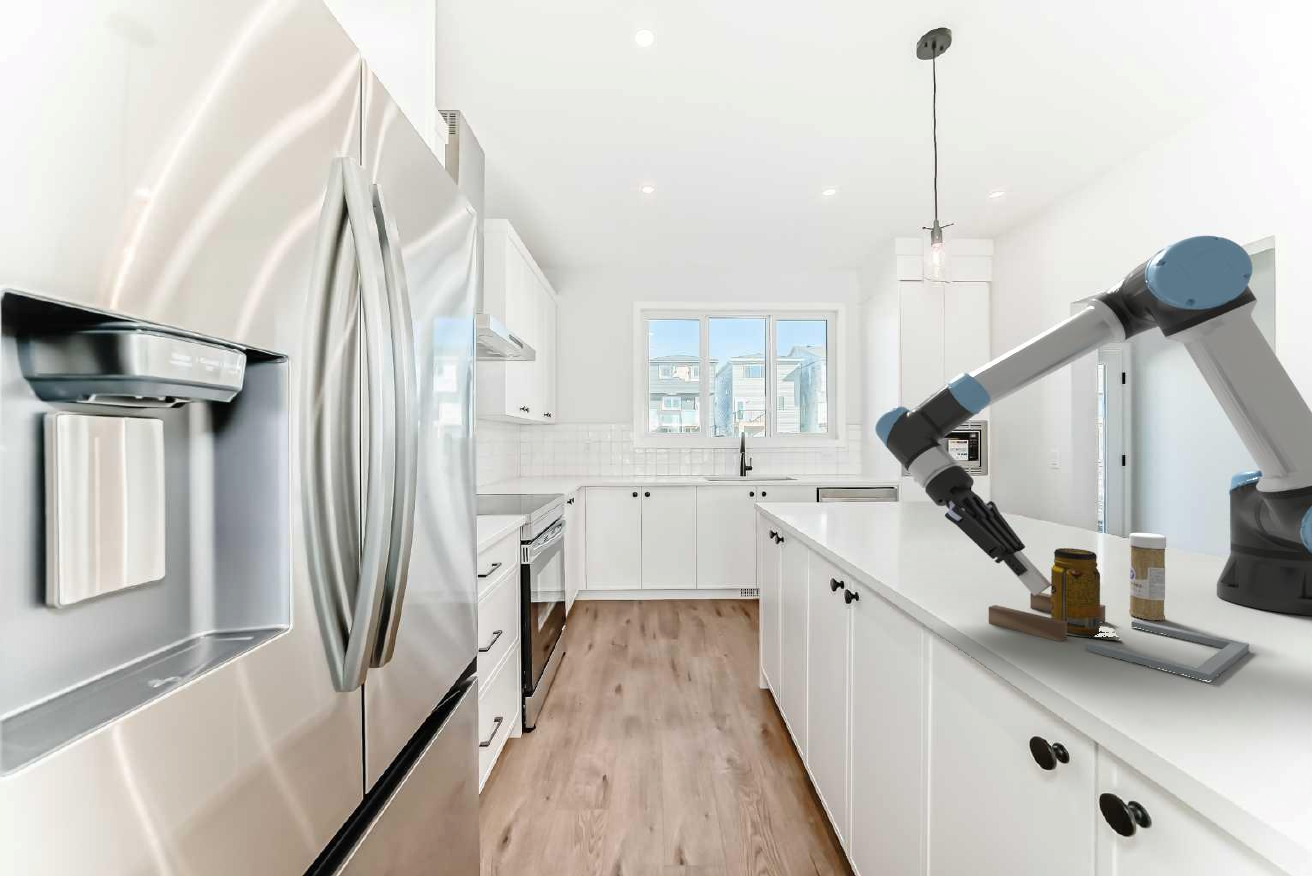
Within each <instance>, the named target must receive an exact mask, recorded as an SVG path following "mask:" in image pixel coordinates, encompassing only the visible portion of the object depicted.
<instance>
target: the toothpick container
mask: <svg viewBox="0 0 1312 876" xmlns="http://www.w3.org/2000/svg"><path fill="white" fill-rule="evenodd" d="M1128 539H1129V541H1128V543H1129V545H1130V546H1129V547H1130V568H1129V569H1130V570H1129V573H1130V575H1129V595H1130V596H1129V597H1130V599H1129V600H1130V601H1129V611H1128V613H1129V615H1130V616H1132V615H1133V616H1132V617H1134V616H1135V617H1134V618H1137V617H1139V618H1138V619H1140V618H1142V619H1141V620H1144V619H1147V620H1146V621H1155V620H1157V621H1158V620H1160V621H1164V620H1165V619H1166V616H1165V599H1166V562H1165V561H1166V560H1165V558H1166V555H1165V554H1166V548H1167V536H1164V535H1162V534H1158V533H1150V532H1149V533H1147V532H1132V533H1130V534H1129V537H1128Z"/></svg>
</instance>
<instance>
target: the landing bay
mask: <svg viewBox="0 0 1312 876" xmlns="http://www.w3.org/2000/svg"><path fill="white" fill-rule="evenodd" d="M1131 627H1137V628H1141V629H1144V630H1148V631H1152V632H1156V633H1163V634H1166V635H1170V636H1173V637H1172V638H1174V637H1176V638H1175V639H1178V638H1179V639H1180V640H1183V639H1187V640H1191V641H1190V642H1192V641H1195V642H1194V643H1196V642H1199V643H1198V644H1201V643H1202V644H1201V645H1206V646H1210V645H1212V646H1211V647H1215V648H1220V650H1219V651H1217V652H1216V653H1215V654H1213V655H1211V656H1210V657H1209V658H1207V660H1205V661H1204V662H1203V663H1201V664H1199V665H1198V666H1196V667H1195V666H1191V665H1188V664H1183V663H1180V662H1176V661H1170V660H1168V659H1165V658H1164V659H1163V658H1160V657H1156V656H1152V655H1148V654H1143V653H1140V652H1135V651H1132V650H1129V649H1124V648H1119V647H1117V646H1116V647H1115V646H1111V645H1107V644H1103V643H1099V642H1095V641H1091V640H1090V641H1089V642H1087V643H1086V652H1090V653H1094V654H1099V655H1102V656H1105V657H1109V656H1111V657H1110V658H1112V657H1115V658H1114V659H1116V658H1119V659H1118V660H1120V659H1123V660H1122V661H1124V660H1126V661H1125V662H1128V661H1130V662H1129V663H1132V662H1136V663H1139V664H1143V665H1147V666H1151V667H1154V668H1160V669H1164V670H1167V671H1171V672H1175V673H1177V674H1184V675H1187V676H1190V677H1194V678H1197V679H1201V680H1207V681H1210V680H1213V679H1214V678H1215V677H1216V676H1217V675H1219V674H1220V675H1221V674H1222V672H1223V671H1224V670H1225V671H1227V669H1229V668H1230V667H1231V666H1233V665H1234V664H1235V663H1236V662H1238V661H1239V660H1240V659H1242V657H1243V656H1245V655H1246V654H1248V653H1249V652H1250V644H1249V643H1246V642H1243V641H1237V640H1233V639H1227V638H1223V637H1218V636H1213V635H1209V634H1204V633H1200V632H1194V631H1190V630H1186V629H1180V628H1176V627H1170V626H1168V625H1161V624H1157V623H1152V622H1146V621H1145V620H1144V621H1143V620H1139V619H1134V620H1131ZM1131 627H1130V628H1131ZM1152 632H1151V633H1152ZM1156 633H1155V634H1156ZM1170 636H1169V637H1170ZM1187 640H1186V641H1187ZM1139 664H1138V665H1139ZM1143 665H1142V666H1143ZM1147 666H1146V667H1147ZM1151 667H1150V668H1151ZM1154 668H1153V669H1154ZM1225 671H1224V672H1225ZM1177 674H1176V675H1177ZM1220 675H1219V676H1220ZM1216 678H1217V677H1216ZM1216 678H1215V679H1216ZM1215 679H1214V680H1215ZM1214 680H1213V681H1214Z"/></svg>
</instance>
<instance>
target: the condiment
mask: <svg viewBox="0 0 1312 876" xmlns="http://www.w3.org/2000/svg"><path fill="white" fill-rule="evenodd" d="M1053 554H1054V555H1053V556H1054V558H1053V562H1054V564H1053V565H1052V567H1051V569H1050V570H1051V577H1050V578H1051V580H1050V583H1051V586H1050V587H1051V588H1050V594H1051V612H1050V613H1051V614H1050V616H1051V617H1050V618H1053V619H1058V620H1062V621H1066V622H1067V636H1068V635H1070V636H1074V637H1080V638H1081V637H1083V638H1093V637H1092V636H1095V635H1097V634H1099V633H1105V632H1102V631H1100V632H1099V628H1100V627H1109V626H1108V625H1107V626H1106V625H1101V624H1100V605H1101V573H1100V572H1099V569H1098V568H1097V567H1098V562H1097V559H1098V556H1097V554H1096V553H1095V552H1094V551H1091V550H1087V549H1082V548H1081V549H1080V548H1069V547H1068V548H1067V547H1065V548H1063V547H1062V548H1056V549H1055V550H1054V552H1053ZM1115 631H1116V630H1115ZM1115 631H1113V632H1112V633H1115ZM1106 633H1109V632H1106ZM1097 636H1098V635H1097ZM1104 636H1105V635H1104ZM1094 638H1095V639H1100V640H1101V639H1102V640H1108V641H1109V640H1110V641H1111V640H1113V641H1114V640H1115V641H1119V642H1122V641H1123V640H1122V639H1121V637H1120V636H1119V637H1116V636H1113V637H1108V636H1106V637H1103V636H1102V637H1094ZM1119 639H1121V640H1119Z"/></svg>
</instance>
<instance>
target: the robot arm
mask: <svg viewBox="0 0 1312 876" xmlns="http://www.w3.org/2000/svg"><path fill="white" fill-rule="evenodd" d="M1252 275H1253V263H1252V260H1251V256H1250V255H1249V253H1248V252H1247V251H1246V250H1245V249H1244V247H1242V246H1241V245H1240V244H1238V243H1237V242H1235V241H1233V240H1231V239H1230V238H1229V239H1228V238H1226V237H1221V236H1215V235H1197V236H1193V237H1192V236H1191V237H1189V238H1185V239H1184V238H1183V239H1182V240H1179V241H1177V242H1175V243H1172V244H1170V245H1167V246H1166V247H1165V248H1163V249H1161V250H1159V251H1158V252H1157V253H1156V254H1154V255H1153V256H1152V257H1150V258H1149V259H1147V260H1146V261H1144V262H1143V263H1141V264H1140V265H1138V266H1137V267H1135V268H1134V269H1133V270H1132V271H1130V272H1129V273H1128V274H1127V275H1125V277H1123V278H1122V279H1120V280H1119V281H1118V282H1117V283H1115V284H1114V285H1112V286H1111V287H1110V288H1108V289H1107V290H1105V291H1104V292H1102V293H1101V294H1099V295H1098V296H1095V297H1094V298H1091V299H1090V300H1089V301H1088V302H1087V306H1086V308H1085V309H1083V310H1082V311H1079V312H1078V313H1076V314H1074V315H1073V316H1071V317H1069V318H1067V319H1065V320H1063V321H1062V322H1060V323H1058V324H1056V325H1055V326H1053V327H1051V328H1049V329H1048V330H1046V331H1044V332H1042V333H1040V334H1039V335H1037V336H1034V337H1033V338H1031V339H1030V340H1028V341H1026V342H1025V343H1022V344H1020V345H1018V346H1017V347H1016V348H1014V349H1011V350H1009V351H1008V352H1006V353H1004V354H1003V355H1001V356H999V357H997V358H995V359H994V360H992V361H991V362H988V363H986V364H984V365H982V366H981V367H979V368H978V369H976V370H974V371H972V372H970V373H968V372H962V373H959V374H958V375H957V376H956V377H953V378H951V379H950V380H949V381H948V382H947V383H945V384H944V385H943V386H941V387H940V388H939V389H938V390H936V391H935V392H934V393H932V394H930V395H929V397H927V398H926V399H925V400H924V401H922V402H921V403H920V404H919V405H918V406H915V407H914V408H912V409H908V408H907V407H906V406H896V407H894V408H893V409H891V410H890V409H889V410H888V411H886V412H885V413H884V414H882V415H881V417H879V418H878V420H877V422H876V424H875V433H876V435H877V437H878V438H879V439H880V441H881V442H882V443H883V444H884V446H885V447H886V448H887V450H888V451H889V452H890V453H891V454H892V455H893V456H894V458H896V460H897V461H898V462H899V463H900V464H901V465H902V466H903V467H904V468H905V470H906V471H907V472H908V473H909V474H910V476H911V477H912V478H913V481H914V482H915V483H918V484H919V486H920V487H921V488H923V489H925V490H924V491H925V493H926V495H927V496H928V497H929V498H930V499H931V500H932V501H933V502H934V503H935V505H936V506H938V507H944V506H946V508H947V509H948V511H947V512H946V513H945V514H944V517H945V518H946V519H947V520H949V521H950V522H951V523H953V524H954V525H955V526H957V527H958V528H959V529H960V530H961V531H962V532H963V533H964V534H965V535H966V536H967V537H969V539H971V541H973V542H974V543H975V544H976V545H977V546H978V547H979V548H980V550H982V551H983V552H984V553H985V554H986V555H987V556H988V557H990V558H991V559H992V560H994V559H995V560H994V562H995V563H996V564H1000V563H1002V562H1004V564H1006V566H1007V567H1008V568H1009V569H1010V570H1011V572H1012V573H1013V574H1014V575H1015V576H1016V577H1017V579H1019V581H1021V583H1022V584H1023V585H1024V586H1025V588H1026V589H1028V591H1029V592H1030V593H1032V594H1033V595H1034V596H1035V595H1038V594H1040V593H1044V591H1047V589H1048V588H1050V587H1051V581H1049V580H1048V579H1047V578H1046V577H1045V576H1044V575H1043V574H1042V573H1041V571H1040V570H1039V569H1038V568H1037V567H1036V566H1035V565H1034V564H1033V563H1032V562H1031V560H1030V559H1029V558H1028V557H1027V556H1026V555H1025V553H1023V550H1024V549H1025V548H1026V545H1025V544H1024V543H1023V542H1022V540H1021V539H1020V538H1019V536H1018V535H1017V533H1016V532H1015V531H1014V530H1013V528H1012V527H1011V526H1010V524H1009V523H1008V521H1007V520H1006V519H1005V518H1004V517H1003V515H1002V514H1001V512H1000V511H999V509H998V508H997V505H996V504H995V502H993V501H992V500H990V501H988V502H985V501H984V500H983V499H982V498H981V497H980V496H979V495H977V494H976V493H975V492H974V491H973V490H972V488H973V485H974V479H973V478H972V476H971V475H970V474H969V473H968V472H967V471H966V470H965V469H964V468H963V467H962V466H961V465H958V464H959V463H958V461H957V460H956V459H955V458H954V457H953V456H952V454H950V452H949V451H947V449H946V448H945V447H944V446H942V444H941V443H939V441H941V440H943V439H944V438H945V437H946V436H947V435H949V434H951V433H952V432H953V431H955V430H957V428H959V427H960V426H962V425H963V424H965V423H966V422H967V421H969V420H970V419H971V418H973V417H975V416H976V415H978V414H980V412H981V411H982V410H984V409H986V408H988V407H990V406H992V405H994V404H995V403H998V402H999V401H1001V400H1004V399H1005V398H1007V397H1009V396H1011V395H1013V394H1015V393H1017V392H1018V391H1020V390H1022V389H1024V388H1026V387H1028V386H1029V385H1032V384H1034V383H1035V382H1037V381H1039V380H1041V379H1043V378H1045V377H1046V376H1049V375H1051V374H1052V373H1054V372H1057V371H1058V370H1059V369H1062V368H1064V367H1067V366H1068V365H1069V364H1071V363H1073V362H1075V361H1077V360H1079V359H1081V358H1083V357H1084V356H1087V355H1088V354H1090V353H1092V352H1094V351H1096V350H1097V349H1100V348H1102V347H1104V346H1105V345H1106V346H1107V344H1109V343H1111V342H1112V343H1119V344H1120V343H1123V342H1124V341H1126V340H1128V339H1130V338H1132V337H1135V336H1137V335H1139V334H1142V333H1144V332H1147V331H1150V330H1152V329H1155V328H1159V329H1160V331H1161V332H1162V334H1163V336H1164V338H1165V339H1166V340H1171V341H1175V342H1179V343H1181V344H1183V346H1184V347H1185V349H1186V351H1187V352H1188V354H1189V355H1190V357H1191V359H1192V361H1193V362H1194V363H1195V365H1196V367H1197V369H1198V370H1199V373H1200V374H1201V376H1202V377H1203V379H1204V381H1205V382H1206V383H1207V385H1208V387H1209V389H1210V390H1211V391H1212V393H1213V395H1214V397H1215V398H1216V400H1217V401H1218V403H1219V406H1220V407H1221V408H1222V410H1223V411H1224V413H1225V415H1226V417H1227V418H1228V419H1229V421H1230V423H1231V425H1232V426H1233V428H1234V430H1235V431H1236V433H1237V434H1238V436H1239V438H1240V440H1241V441H1242V443H1243V444H1244V446H1245V448H1246V450H1247V451H1248V453H1249V454H1250V456H1251V458H1252V459H1253V461H1254V463H1255V464H1256V466H1257V468H1258V469H1259V470H1247V471H1240V472H1236V473H1235V474H1234V475H1233V476H1232V477H1231V479H1230V480H1231V481H1230V488H1229V490H1228V495H1229V512H1230V513H1229V516H1230V518H1229V528H1230V529H1229V530H1230V531H1229V532H1230V533H1229V537H1230V545H1229V547H1230V553H1229V557H1228V558H1227V560H1226V562H1225V565H1224V566H1223V569H1222V571H1221V573H1220V576H1219V577H1218V580H1217V582H1216V596H1217V597H1219V598H1220V599H1222V600H1225V601H1227V602H1231V603H1234V604H1237V605H1241V606H1245V607H1250V608H1255V609H1260V610H1266V611H1271V612H1277V613H1284V614H1293V615H1303V616H1312V411H1311V409H1310V407H1309V406H1308V404H1307V403H1306V401H1305V399H1304V398H1303V395H1301V393H1300V391H1299V390H1298V388H1297V387H1296V386H1295V384H1294V382H1293V381H1292V379H1291V377H1290V376H1289V374H1288V373H1287V371H1286V369H1285V368H1284V367H1283V364H1281V360H1279V358H1278V357H1277V355H1276V354H1275V352H1274V351H1273V349H1272V348H1271V345H1270V344H1269V342H1268V341H1267V339H1266V338H1265V336H1264V335H1263V333H1262V332H1261V330H1260V328H1259V326H1258V325H1257V323H1256V322H1255V321H1254V319H1253V317H1252V312H1253V311H1254V309H1255V307H1256V305H1257V302H1258V299H1257V298H1256V296H1255V294H1254V293H1253V291H1252V290H1251V288H1250V287H1249V285H1248V284H1249V283H1250V281H1251V276H1252Z"/></svg>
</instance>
